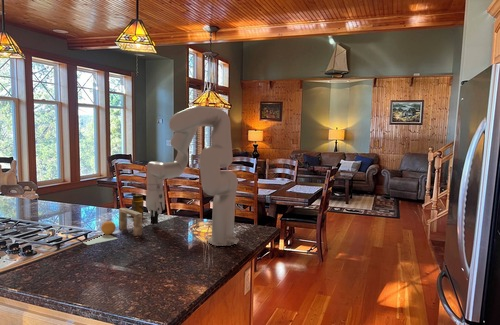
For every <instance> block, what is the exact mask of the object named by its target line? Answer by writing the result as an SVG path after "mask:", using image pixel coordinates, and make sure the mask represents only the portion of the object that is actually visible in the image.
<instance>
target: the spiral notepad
mask: <svg viewBox="0 0 500 325" xmlns="http://www.w3.org/2000/svg"><path fill="white" fill-rule="evenodd" d="M118 239H119V238H118V237H115V236H113V235H112V234H109V235H107V234H105V235H102V236H100V237H98V238H95V239H92V240H90V241H87V242H83V244H84V245H86V246H91V245H95V244H100V243H107V242H109V241H110V242H111V241H115V240H118Z"/></svg>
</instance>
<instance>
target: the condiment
mask: <svg viewBox="0 0 500 325" xmlns="http://www.w3.org/2000/svg"><path fill="white" fill-rule="evenodd" d="M131 210H133V211H136V212H139V213H142V219H144V218H146V216H145V215H144V196H143V194H133V195H132V200H131ZM127 219H129V220H134V216H131V215H127Z"/></svg>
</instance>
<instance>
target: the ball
mask: <svg viewBox="0 0 500 325" xmlns="http://www.w3.org/2000/svg"><path fill="white" fill-rule="evenodd" d="M116 227H117V226H116V224H115V223H114V222H113V221H112V220H111V221H110V220H107V221H104V222H103V223H102V225H101V227H100V228H101V232H103V233H104V234H107V235H112V234H113V233H114V232H115V231H116Z"/></svg>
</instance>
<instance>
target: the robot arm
mask: <svg viewBox="0 0 500 325" xmlns="http://www.w3.org/2000/svg"><path fill="white" fill-rule="evenodd" d="M168 124H169V125H168V126H169V129H170V130H171V132H173V135H172V138H171V139H170V145H171V147H172V148H173V149H175V150H176V151H177V154H176V157H175V159H174V160H173V161H168V162H162V161H155V160H154V161H153V160H152V161H149V162H148V163H147V166H146V194H145V208H146V209H147V211H148V212H149V216H150V224H151V225H157V224H159V216H160V214H162V213H163V212H162V211H164V210H165V208H166V206H165V204H166V202H165V192H164V180H165V179H166V180H167V179H171V178H178V177H180V176H181V175H182V174H183V173H184V172H185V169H186V167H187V165H188V163H189V151H188V149H189V147H190V145H191V143H192V141H193V139H194V137H195V136H196V133H197V131H198V129H199V127H210V128H211V127H212V131H211V135H210V138H211V139H210V141H211V145H207V146H205V147H204V148H202V150H201V151H200V155H199V172H200V182H201V188H202V190H203V192H204V193H205V194H206V195H208V196H213V199H212V200H213V201H212V215H211V216H212V220H211V222H212V223H211V237H210V238H208V240H207V243H208V244H209V243H210V244H212V245H222V246H223V245H231V243H232V244H236V245H237V244H238V242H240V239H239V238H238V237H236V233H235V212H236V211H235V210H236V209H235V208H236V197H237V196H236V195H237V191H238V186H239V185H238V184H239V179H238V176H237V175H236V173H235V172H234V171H231V170H227V169H226V170H225V169H224V170H221V168H222V169H223V168H226V167H227V168H228V167H229V166H230V165H232V163H233V160H234V157H233V156H234V155H233V145H232V144H233V143H232V135H231V119H230V116H229V115H228V113H227V112H226V111H224V110H223V109H220V108H217V107H213V106H207V105H206V106H205V105H193V106H191V107H188V108H185V109H184V110H183V109H182V110H181V111H178V112H176V113H174V114H173V115H172V116H171V118H170V119H169V123H168ZM210 244H209V245H210ZM212 245H211V246H212Z"/></svg>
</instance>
